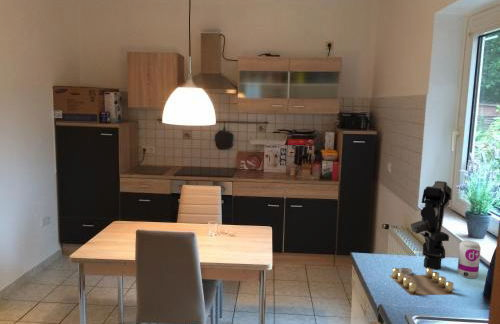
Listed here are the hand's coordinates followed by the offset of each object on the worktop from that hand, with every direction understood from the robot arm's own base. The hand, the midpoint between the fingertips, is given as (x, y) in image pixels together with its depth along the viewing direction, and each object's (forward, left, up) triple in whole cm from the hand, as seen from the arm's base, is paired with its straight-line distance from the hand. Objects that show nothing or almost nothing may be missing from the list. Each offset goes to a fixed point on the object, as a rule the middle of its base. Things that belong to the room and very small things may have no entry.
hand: (429, 251), depth 179 cm
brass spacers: (+8, +9, -11) cm, 16 cm away
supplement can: (-20, -2, -12) cm, 24 cm away
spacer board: (+8, +9, -12) cm, 17 cm away
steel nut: (+8, -4, -12) cm, 15 cm away
